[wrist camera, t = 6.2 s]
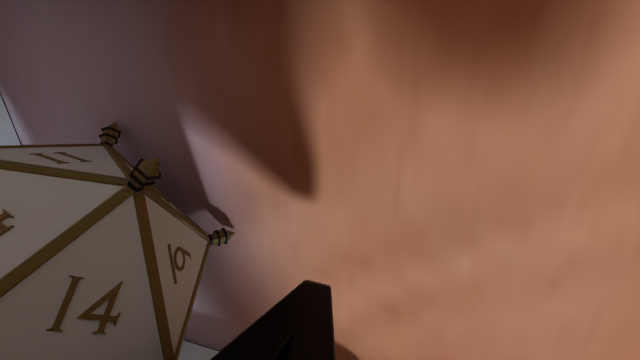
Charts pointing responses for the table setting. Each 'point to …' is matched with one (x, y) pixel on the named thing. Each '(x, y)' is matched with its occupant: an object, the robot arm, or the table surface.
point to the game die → (93, 255)
